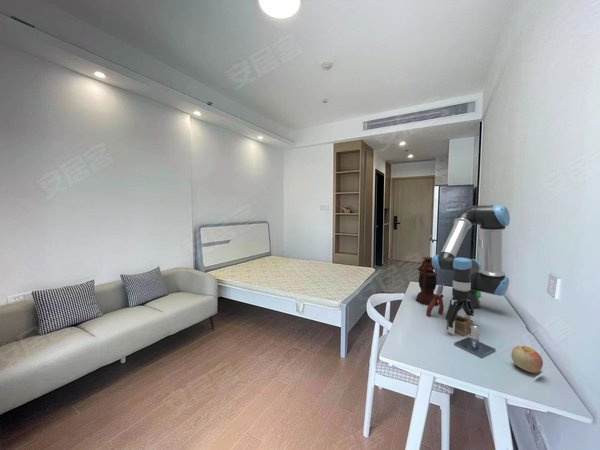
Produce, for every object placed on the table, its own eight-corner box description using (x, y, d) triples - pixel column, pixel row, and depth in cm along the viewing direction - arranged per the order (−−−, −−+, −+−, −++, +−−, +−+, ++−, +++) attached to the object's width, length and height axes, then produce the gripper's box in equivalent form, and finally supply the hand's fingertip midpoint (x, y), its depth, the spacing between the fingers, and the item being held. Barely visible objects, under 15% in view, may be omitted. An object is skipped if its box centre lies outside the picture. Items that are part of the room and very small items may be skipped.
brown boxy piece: (456, 325, 127) (456, 314, 127) (472, 332, 120) (473, 320, 120) (446, 329, 124) (447, 317, 123) (463, 336, 116) (463, 324, 116)
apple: (527, 362, 97) (528, 343, 96) (549, 377, 88) (550, 356, 87) (504, 361, 97) (505, 342, 97) (523, 376, 88) (525, 355, 88)
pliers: (436, 284, 133) (432, 282, 135) (428, 317, 137) (424, 314, 139) (450, 283, 137) (446, 281, 139) (443, 314, 141) (439, 312, 143)
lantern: (434, 309, 148) (436, 261, 146) (411, 303, 158) (412, 258, 156) (442, 301, 161) (443, 257, 159) (420, 296, 170) (421, 254, 169)
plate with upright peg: (468, 339, 114) (469, 318, 113) (495, 351, 104) (496, 328, 104) (454, 344, 109) (455, 323, 108) (481, 358, 99) (482, 334, 99)
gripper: (467, 283, 130) (465, 322, 131) (438, 290, 118) (436, 332, 119) (483, 287, 123) (481, 328, 124) (453, 295, 112) (452, 339, 113)
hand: (459, 330), depth 122 cm, fingers open, 13 cm apart
